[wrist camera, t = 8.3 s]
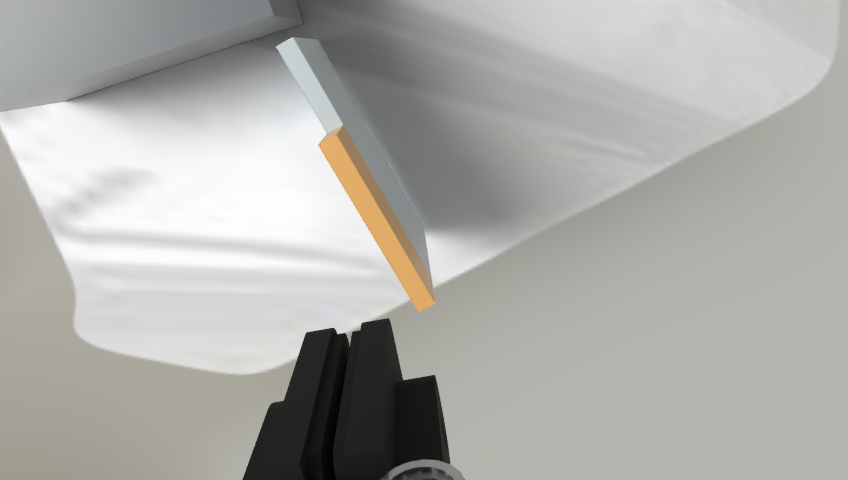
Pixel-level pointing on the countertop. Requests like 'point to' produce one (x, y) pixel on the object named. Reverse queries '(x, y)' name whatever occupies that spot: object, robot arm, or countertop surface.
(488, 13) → the countertop surface
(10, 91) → the camera case
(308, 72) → the side door
